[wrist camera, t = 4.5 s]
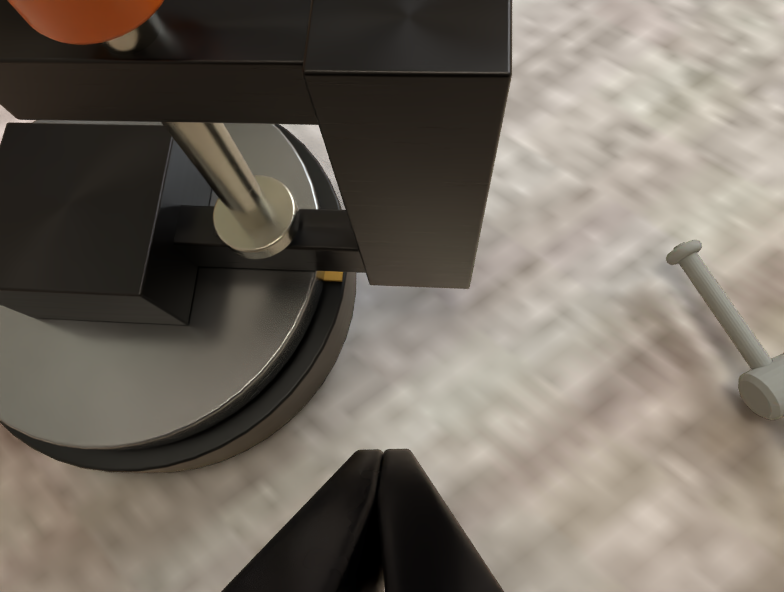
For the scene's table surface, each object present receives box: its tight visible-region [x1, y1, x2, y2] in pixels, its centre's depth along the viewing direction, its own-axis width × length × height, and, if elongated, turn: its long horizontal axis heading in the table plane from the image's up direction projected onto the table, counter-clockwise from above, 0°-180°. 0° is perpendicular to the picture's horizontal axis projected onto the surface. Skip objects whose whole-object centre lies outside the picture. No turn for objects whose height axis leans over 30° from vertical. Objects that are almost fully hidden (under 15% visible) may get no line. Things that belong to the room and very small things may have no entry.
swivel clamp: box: [0, 0, 512, 451], centre depth 10 cm, size 10×14×10 cm
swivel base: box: [0, 124, 356, 473], centre depth 17 cm, size 11×11×2 cm
